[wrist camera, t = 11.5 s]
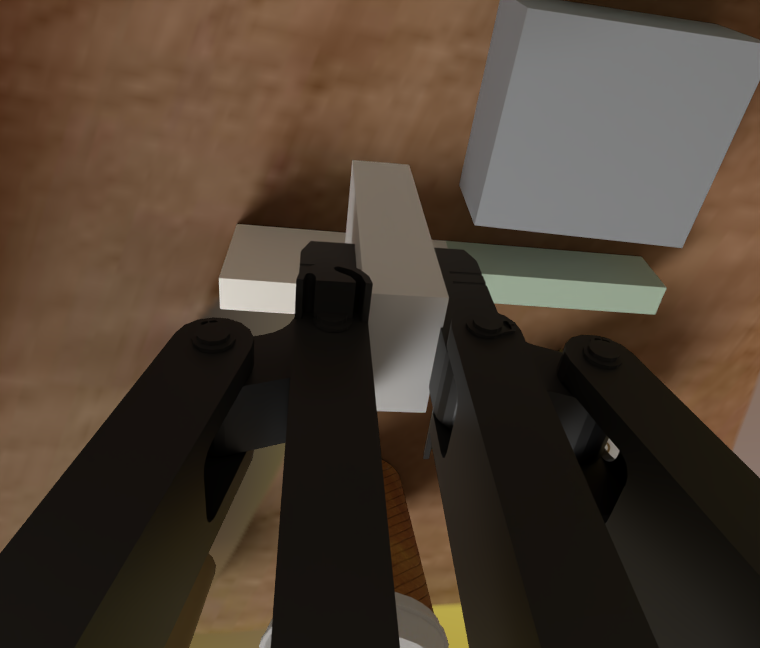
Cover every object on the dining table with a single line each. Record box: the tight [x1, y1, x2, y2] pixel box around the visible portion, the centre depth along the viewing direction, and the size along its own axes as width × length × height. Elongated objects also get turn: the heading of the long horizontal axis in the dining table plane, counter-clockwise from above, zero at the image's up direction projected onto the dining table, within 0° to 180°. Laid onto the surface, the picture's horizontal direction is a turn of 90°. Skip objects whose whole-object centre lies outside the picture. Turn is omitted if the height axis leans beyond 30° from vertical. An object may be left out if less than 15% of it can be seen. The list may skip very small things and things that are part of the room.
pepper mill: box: [164, 553, 216, 648], centre depth 40 cm, size 6×6×11 cm
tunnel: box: [219, 224, 666, 315], centre depth 25 cm, size 20×16×5 cm
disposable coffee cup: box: [259, 460, 449, 648], centre depth 35 cm, size 10×10×12 cm
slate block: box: [459, 0, 760, 248], centre depth 25 cm, size 9×8×4 cm
